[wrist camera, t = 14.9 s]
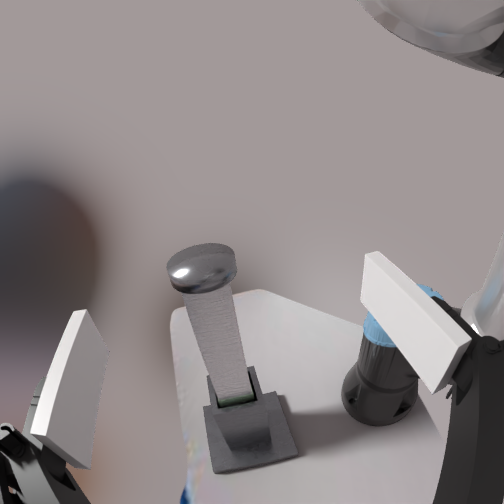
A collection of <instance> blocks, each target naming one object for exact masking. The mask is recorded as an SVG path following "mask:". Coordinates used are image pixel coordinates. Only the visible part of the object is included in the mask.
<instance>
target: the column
mask: <svg viewBox="0 0 504 504" xmlns="http://www.w3.org/2000/svg"><path fill="white" fill-rule="evenodd" d="M167 271H168V275H169V278H170V281H171V284H172V286H173V288H174V289H176V290H177V291H179V292H181V293H182V296H183V300H184V303H185V306H186V309H187V312H188V316H189V319H190V322H191V325H192V328H193V331H194V334H195V337H196V340H197V343H198V346H199V348H200V351H201V354H202V357H203V360H204V363H205V365H206V368H207V371H208V373H209V376H210V379H211V381H212V384H213V387H214V389H215V392H216V394H217V397H218V402H219V404H220V406H221V407H222V408H226V407H231V406H236V405H241V404H245V403H250V402H254V395H253V391H252V388H251V384H250V380H249V376H248V371H247V366H246V362H245V357H244V352H243V347H242V342H241V337H240V332H239V328H238V323H237V317H236V312H235V307H234V302H233V297H232V292H231V287H230V282H231V281H232V279H233V278H234V277H235V275H236V273H237V267H236V260H235V254H234V251H233V250H232V249H231V248H230V247H228V246H226V245H222V244H216V243H208V244H201V245H196V246H192V247H189V248H186V249H184V250H182V251H180V252H178V253H176V254H175V255H174V256H173V257H171V259H170V260H169V261H168V263H167Z"/></svg>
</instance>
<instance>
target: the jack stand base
mask: <svg viewBox="0 0 504 504" xmlns="http://www.w3.org/2000/svg"><path fill="white" fill-rule="evenodd" d="M247 371H248V376H249V380H250V384H251V388H252V391H253V395H254V402H250V403H245V404H241V405H236V406H231V407H226V408H222V407H221V406H220V404H219V402H218V397H217V394H216V392H215V389H214V387H213V384H212V381H211V379H210V376H209V375H208V376H207V382H208V389H209V395H210V402H211V405H209V406H204V407H203V410H204V417H205V424H206V431H207V438H208V444H209V450H210V456H211V462H212V467H213V472H214V473H215V474H217V473H224V472H230V471H236V470H241V469H246V468H251V467H256V466H260V465H265V464H269V463H273V462H277V461H281V460H284V459H288V458H292V457H295V456H298V451H297V448H296V446H295V443H294V440H293V438H292V435H291V432H290V429H289V427H288V424H287V421H286V418H285V416H284V413H283V410H282V407H281V405H280V402H279V399H278V396H277V393H276V391H274V392H270V393H266V394H262V391H261V388H260V385H259V382H258V378H257V375H256V372H255V368H254V366H251V367H247Z"/></svg>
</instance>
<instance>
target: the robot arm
mask: <svg viewBox="0 0 504 504" xmlns="http://www.w3.org/2000/svg"><path fill="white" fill-rule="evenodd" d="M357 1H358V2H359V3H360V4H361V6H362V7H363V8H364V9H365V10H366V11H367V12H368V13H369V14H370V15H371V16H372V17H373V18H374V19H375V20H376V21H377V22H378V23H380V24H381V25H382V26H383V27H384V28H386V29H387V30H388V31H390V32H391V33H393V34H395V35H396V36H397V37H399V38H401V39H402V40H404V41H406V42H408V43H410V44H412V45H414V46H417V47H419V48H421V49H424V50H426V51H428V52H430V53H432V54H434V55H437V56H440V57H442V58H445V59H447V60H450V61H453V62H455V63H458V64H460V65H463V66H466V67H469V68H472V69H475V70H478V71H481V72H485V73H489V74H493V75H496V76H499V77H503V78H504V0H357ZM360 301H361V302H362V303H363V304H364V306H365V307H366V308H367V309H368V314H367V317H366V319H365V322H364V326H363V328H364V333H363V338H362V344H361V348H360V353H359V358H358V361H357V362H356V363H355V365H354V366H353V367H352V368H351V370H350V371H349V372H348V373H347V375H346V377H345V379H344V382H343V387H342V392H341V396H342V402H343V405H344V407H345V409H346V410H347V412H348V413H349V414H350V415H351V416H352V417H353V418H355V419H356V420H358V421H360V422H362V423H364V424H367V425H372V426H384V425H389V424H392V423H395V422H397V421H399V420H400V419H402V418H403V417H404V416H406V415H407V413H408V412H409V411H410V409H411V408H412V406H413V404H414V403H415V400H416V398H417V393H418V378H420V379H422V381H423V382H424V384H425V385H426V386H427V388H428V389H429V391H430V392H431V393H432V394H434V393H436V392H438V391H439V390H441V389H443V388H444V387H446V385H447V384H450V385H453V386H452V387H451V389H450V391H449V392H448V394H447V396H446V399H448V398H449V396H450V395H451V394H452V398H451V399H452V403H451V414H450V424H449V431H448V438H447V444H446V450H445V455H444V460H443V465H442V470H441V474H440V479H439V483H438V487H437V490H436V494H435V498H434V501H433V504H502V503H503V498H504V231H503V234H502V237H501V240H500V243H499V246H498V249H497V252H496V255H495V258H494V260H493V263H492V265H491V268H490V270H489V272H488V275H487V277H486V280H485V282H484V284H483V287H482V289H481V291H477V292H475V293H473V294H472V295H471V296H470V297H468V299H467V300H466V301H465V303H464V305H463V307H462V309H459V308H454V307H450V306H449V305H448V304H447V303H446V302H445V301H444V299H443V298H442V296H441V295H440V294H439V293H438V292H437V291H435V292H433V290H432V288H430V287H428V286H424V285H420V284H415V283H414V282H413V281H412V280H411V279H410V278H409V277H408V276H406V275H405V274H404V273H403V272H402V271H401V270H400V269H399V268H397V267H396V266H395V265H394V264H393V263H392V262H391V261H389V260H388V259H387V258H386V257H385V256H384V255H382V254H381V253H380V252H379V251H376V252H372V253H368V254H365V262H364V272H363V282H362V290H361V298H360ZM109 352H110V351H109V350H108V348H107V346H106V344H105V343H104V341H103V339H102V337H101V336H100V334H99V332H98V330H97V329H96V327H95V325H94V323H93V321H92V319H91V317H90V315H89V313H88V311H87V310H79V311H74V312H73V314H72V316H71V318H70V320H69V323H68V325H67V327H66V329H65V332H64V334H63V337H62V339H61V341H60V344H59V346H58V349H57V351H56V354H55V356H54V359H53V361H52V364H51V367H50V370H49V372H48V375H47V377H43V378H42V379H41V381H40V382H39V383H38V385H37V386H36V389H35V392H34V395H33V397H34V398H32V401H31V406H30V407H29V411H28V414H27V418H26V421H25V425H24V428H23V432H22V434H21V433H20V432H19V431H17V429H15V428H14V427H13V426H12V425H11V424H9V423H3V424H1V425H0V504H91V503H90V502H89V500H88V499H87V497H86V496H85V495H84V493H83V492H82V490H81V489H80V487H79V486H78V484H77V483H76V481H75V479H74V478H73V476H72V475H71V473H70V472H69V471H68V469H67V468H66V462H67V463H69V464H70V465H72V466H73V467H74V468H80V469H88V470H90V469H91V458H92V448H93V440H94V433H95V425H96V419H97V412H98V406H99V400H100V395H101V390H102V384H103V379H104V375H105V370H106V365H107V361H108V356H109ZM8 486H10V487H11V488H13V494H12V493H10V492H9V488H8Z"/></svg>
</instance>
